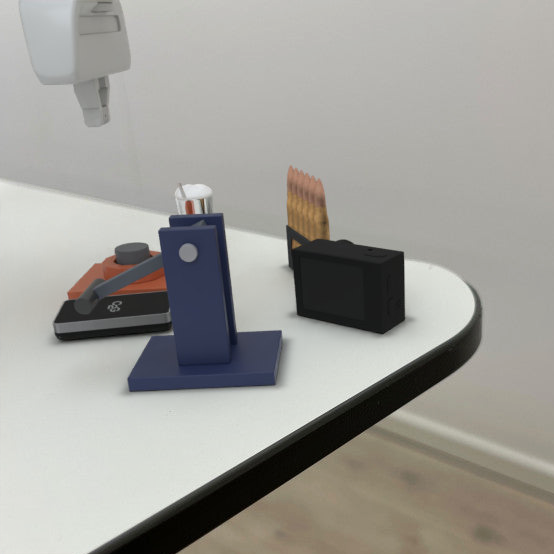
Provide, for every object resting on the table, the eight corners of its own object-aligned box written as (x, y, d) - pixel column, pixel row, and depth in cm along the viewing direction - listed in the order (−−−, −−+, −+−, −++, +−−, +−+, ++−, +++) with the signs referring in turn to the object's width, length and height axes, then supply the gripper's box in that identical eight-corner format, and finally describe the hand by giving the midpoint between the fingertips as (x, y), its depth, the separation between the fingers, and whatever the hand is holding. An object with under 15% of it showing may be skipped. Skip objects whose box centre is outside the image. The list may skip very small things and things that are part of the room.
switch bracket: (129, 391, 63) (101, 239, 57) (153, 347, 71) (130, 211, 66) (275, 385, 63) (260, 232, 58) (282, 341, 71) (270, 204, 66)
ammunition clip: (288, 266, 92) (280, 164, 87) (302, 263, 93) (295, 163, 88) (320, 292, 83) (313, 181, 78) (336, 289, 84) (330, 179, 79)
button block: (71, 312, 80) (63, 275, 79) (98, 281, 90) (91, 248, 88) (185, 306, 81) (179, 270, 79) (200, 276, 90) (196, 243, 88)
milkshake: (173, 263, 95) (161, 182, 90) (194, 251, 99) (184, 173, 95) (206, 265, 93) (195, 183, 89) (226, 253, 98) (217, 174, 94)
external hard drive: (68, 318, 79) (64, 299, 78) (177, 307, 80) (174, 289, 80) (55, 344, 73) (51, 324, 72) (174, 332, 74) (171, 313, 73)
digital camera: (413, 315, 76) (412, 247, 73) (383, 334, 72) (381, 262, 69) (328, 298, 81) (324, 234, 78) (296, 315, 77) (291, 247, 74)
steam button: (113, 268, 82) (110, 252, 81) (121, 258, 85) (119, 242, 84) (146, 266, 82) (144, 250, 81) (154, 256, 85) (151, 241, 84)
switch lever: (84, 322, 62) (66, 297, 61) (101, 301, 67) (85, 277, 66) (212, 257, 60) (196, 230, 59) (221, 239, 65) (206, 214, 64)
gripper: (75, -22, 82) (96, 113, 87) (-3, -32, 63) (30, 141, 69) (134, -24, 82) (152, 112, 87) (74, -34, 63) (101, 139, 69)
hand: (98, 125), depth 78 cm, fingers closed
